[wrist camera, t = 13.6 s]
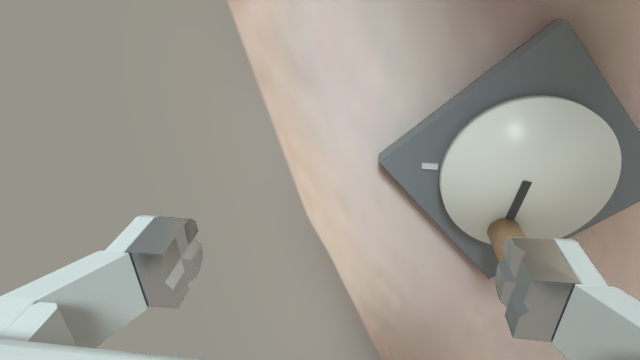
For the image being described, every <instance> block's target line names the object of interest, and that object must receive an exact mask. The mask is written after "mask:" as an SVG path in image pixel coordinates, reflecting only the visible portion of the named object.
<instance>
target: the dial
mask: <svg viewBox="0 0 640 360" xmlns="http://www.w3.org/2000/svg"><path fill="white" fill-rule="evenodd" d="M621 159H622V158H621V150H620V146H619V143H618V140H617V138H616V136H615V134H614V132H613V130H612V129H611V128H610V126H609V125H608V124H607V123H606V122H605V121H604V120H603V119H602V118H601V117H600V116H598V115H597V114H596V113H594V112H593V111H591V110H589V109H588V108H586V107H585V106H583V105H581V104H580V103H577V102H575V101H572V100H570V99H566V98H562V97H558V96H550V95H531V96H523V97H518V98H514V99H510V100H507V101H504V102H501V103H499V104H496V105H494V106H492V107H490V108H488V109H486V110H485V111H483V112H481V113H480V114H478V115H477V116H475V117H474V118H473V119H472V120H470V121H469V122H468V123H467V124H466V125H465V126H464V127H463V128H462V129H461V130H460V131H459V132H458V133H457V134H456V136H455V137H454V138H453V139H452V141H451V143H450V144H449V146H448V148H447V149H446V152H445V154H444V156H443V159H442V162H441V166H440V172H439V187H440V192H441V196H442V200H443V203H444V205H445V208H446V210H447V212H448V214H449V216H450V218H451V219H452V220H453V221H454V223H455V224H456V225H457V226H458V227H459V228H460V229H461V230H462V231H464V232H465V233H467V234H468V235H470V236H471V237H473V238H475V239H477V240H479V241H482V242H485V243H488V244H492V247H493V249H494V251H495V254H496V256H497V258H498V261H499V262H501V261H502V260H503V259H504V258H505V257H504V254H503V252H502V247H503V243H504V241H505V239H506V237H521V238H541V239H550V238H557V239H560V238H562V237H564V236H567V235H569V234H571V233H572V232H574V231H576V230H577V229H579V228H581V227H582V226H583V225H585V224H586V223H588V222H589V221H590V220H591V219H592V218H593V217H594V216H596V215H597V214H598V213H599V211H600V210H601V209H602V208H603V207H604V206H605V204H606V203H607V202H608V200H609V199H610V197H611V195H612V194H613V192H614V190H615V188H616V185H617V183H618V180H619V176H620V171H621Z"/></svg>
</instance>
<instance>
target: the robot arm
mask: <svg viewBox="0 0 640 360" xmlns="http://www.w3.org/2000/svg"><path fill="white" fill-rule="evenodd" d="M197 232H198V228H197V225H196V221H194V220H193V219H189V218H175V217H162V216H158V217H157V216H148V215H147V216H146V215H141V216H138V217H136V218H135V219H134V220H133V222H132V223H131V224H130V225H129V226H128V227H127V228H126V229H125V230H124V231H123V232H122V233H121V234H120V235H119V237H117V238H116V240H115V241H114V242H113V243H112V244H111V245H110V246H109V247H108V248H107V249H106V250H105V251H98V252H96V253H93V254H91V255H89V256H87V257H85V258H83V259H80V260H78V261H76V262H74V263H72V264H70V265H68V266H65V267H64V268H61V269H59V270H57V271H55V272H52V273H50V274H48V275H46V276H44V277H42V278H40V279H37V280H35V281H33V282H31V283H29V284H27V285H24V286H22V287H20V288H18V289H16V290H13V291H11V292H9V293H7V294H5V295H3V296H1V297H0V360H203V359H194V358H184V357H174V356H165V355H156V354H146V353H136V352H127V351H116V350H107V349H98V348H96V347H97V346H99V345H100V344H101V343H103V342H104V341H105V340H106V339H108V338H109V337H111V336H112V335H113V334H114V333H116V332H117V331H119V330H120V329H121V328H123V327H124V326H125V325H127V324H128V323H129V322H130V321H132V320H133V319H134V318H136V317H137V316H138V315H140V314H141V313H142V312H144V311H145V310H146V309H148V307H161V308H179V306H180V305H181V303H182V301H183V300H184V298H185V296H186V294H187V293H188V291H189V287H188V282H190V281H192V280H193V279H195V278H196V277H197V275H198V273H199V271H200V269H201V265H202V261H203V251H202V246H201V244H200V243H199V242H198V241H197V240H196V239H195V236H196V234H197ZM502 252H503V254H504V257H505V258H504V259H503V260H502V261H501V262H499V263H498V266H497V271H496V289H497V294H498V297H499V300H500V301H501V302H502V303H503V304H504V305H505V306H507V309H506V313H505V317H506V320H507V323H508V325H509V328H510V331H511V334H512V337H513V338H519V339H528V340H537V341H546V342H552V345H553V346H554V347H555V348H556V349H557V350H558V351H559V352H560V353H561V354H562V355H563V356H564V357H565V358H566V359H567V360H640V301H639V300H637V299H635V298H634V297H632V296H630V295H629V294H627V293H625V292H624V291H622V290H620V289H619V288H617V287H611V286H608V285H607V283H606V282H605V280H604V279H603V278H602V276H601V275H600V273H599V272H598V271H597V269H596V268H595V266H594V265H593V263H592V262H591V261H590V259H589V258H588V256H587V255H586V254H585V252H584V251H583V249H582V248H581V247H580V245H579V244H578V242H577V241H575V240H573V239H557V238H550V239H541V238H521V237H506V239H505V241H504V243H503V247H502Z"/></svg>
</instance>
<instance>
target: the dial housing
mask: <svg viewBox="0 0 640 360" xmlns="http://www.w3.org/2000/svg"><path fill="white" fill-rule="evenodd" d="M531 95H550V96H558V97H562V98H566V99H570V100H572V101H575V102H577V103H580V104H581V105H583V106H585V107H586V108H588V109H589V110H591V111H593V112H594V113H596V114H597V115H598V116H600V117H601V118H602V119H603V120H604V121H605V122H606V123H607V124H608V125H609V126H610V128H611V129H612V130H613V132H614V134H615V136H616V138H617V140H618V143H619V146H620V150H621V158H622V159H621V171H620V176H619V180H618V183H617V185H616V188H615V190H614V192H613V194H612V195H611V197H610V199H609V200H608V202H607V203H606V204H605V206H604V207H603V208H602V209H601V210H600V211H599V213H598V214H597V215H596V216H594V217H593V218H592V219H591V220H590V221H589V222H588V223H586V224H585V225H583V226H582V227H581V228H579V229H577V230H576V231H574V232H572V233H571V234H569V235H567V236H564V237H562V238H560V239H567V238H569V237H571V236H573V235H575V234H577V233H578V232H580V231H582V230H584V229H586V228H588V227H590V226H592V225H594V224H596V223H598V222H600V221H602V220H604V219H606V218H607V217H609V216H611V215H613V214H615V213H617V212H619V211H621V210H623V209H625V208H627V207H629V206H631V205H633V204H635V203H636V202H638V201H640V132H639V131H638V129H637V128H636V126H635V125H634V123H633V121H632V120H631V118H630V117H629V115H628V114H627V112H626V111H625V109H624V108H623V106H622V105H621V103H620V101H619V100H618V98H617V97H616V95H615V94H614V92H613V91H612V89H611V88H610V86H609V85H608V83H607V82H606V80H605V78H604V77H603V75H602V74H601V72H600V71H599V69H598V68H597V66H596V65H595V63H594V62H593V60H592V59H591V57H590V55H589V54H588V52H587V51H586V49H585V48H584V46H583V45H582V43H581V42H580V40H579V39H578V37H577V35H576V34H575V32H574V31H573V29H572V28H571V26H570V25H569V23H568V22H567V21H564V20H561V19H556V20H555V21H553V22H552V23H551V24H550V25H548V26H547V27H546V28H544V29H543V30H542V31H540V32H539V33H538V34H536V35H535V36H534V37H532V38H531V39H530V40H528V41H527V42H526V43H524V44H523V45H522V46H521V47H519V48H518V49H517V50H515V51H514V52H513V53H511V54H510V55H509V56H507V57H506V58H505V59H503V60H502V61H501V62H499V63H498V64H497V65H496V66H494V67H493V68H492V69H490V70H489V71H488V72H486V73H485V74H484V75H482V76H481V77H480V78H478V79H477V80H476V81H474V82H473V83H472V84H471V85H469V86H468V87H467V88H465V89H464V90H463V91H461V92H460V93H459V94H457V95H456V96H455V97H453V98H452V99H451V100H449V101H448V102H447V103H445V104H444V105H443V106H442V107H440V108H439V109H438V110H436V111H435V112H434V113H432V114H431V115H430V116H428V117H427V118H426V119H424V120H423V121H422V122H420V123H419V124H418V125H417V126H415V127H414V128H413V129H411V130H410V131H409V132H407V133H406V134H405V135H403V136H402V137H401V138H399V139H398V140H397V141H395V142H394V143H393V144H391V145H390V146H389V147H388V148H386V149H385V150H384V151H382V152H381V153H380V154H379V163H380V164H381V165H382V166H383V167H384V168H385V169H386V170H387V171H388V172H389V173H390V174H391V175H392V177H393V178H394V179H395V180H396V181H397V182H398V183H399V184H400V185H401V186H402V187H403V188H404V189H405V190H406V191H407V193H408V194H409V195H410V196H411V197H412V198H413V199H414V200H415V201H416V202H417V203H418V204H419V205H420V206H421V207H422V209H423V210H424V211H425V212H426V213H427V214H428V215H429V216H430V217H431V218H432V219H433V220H434V221H435V222H436V224H437V225H438V226H439V227H440V228H441V229H442V230H443V231H444V232H445V233H446V234H447V235H448V236H449V237H450V238H451V240H452V241H453V242H454V243H455V244H456V245H457V246H458V247H459V248H460V249H461V250H462V251H463V252H464V253H465V254H466V256H467V257H468V258H469V259H470V260H471V261H472V262H473V263H474V264H475V265H476V266H477V267H478V268H479V269H480V270H481V272H482V273H483V274H484V275H485V276H486V277H487V278H488V279H490V278H491V277H493V276H495V275H496V271H497V266H498V263H499V261H498V258H497V256H496V254H495V251H494V249H493V247H492V244H488V243H485V242H482V241H479V240H477V239H475V238H473V237H471V236H470V235H468V234H467V233H465V232H464V231H462V230H461V229H460V228H459V227H458V226H457V225H456V224H455V223H454V221H453V220H452V219H451V218H450V216H449V214H448V212H447V210H446V208H445V205H444V203H443V200H442V196H441V192H440V187H439V172H440V166H441V162H442V159H443V156H444V154H445V152H446V149H447V148H448V146H449V144H450V143H451V141H452V139H453V138H454V137H455V136H456V134H457V133H458V132H459V131H460V130H461V129H462V128H463V127H464V126H465V125H466V124H467V123H468V122H469V121H470V120H472V119H473V118H474V117H475V116H477V115H478V114H480V113H481V112H483V111H485V110H486V109H488V108H490V107H492V106H494V105H496V104H499V103H501V102H504V101H507V100H510V99H514V98H518V97H523V96H531Z"/></svg>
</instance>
